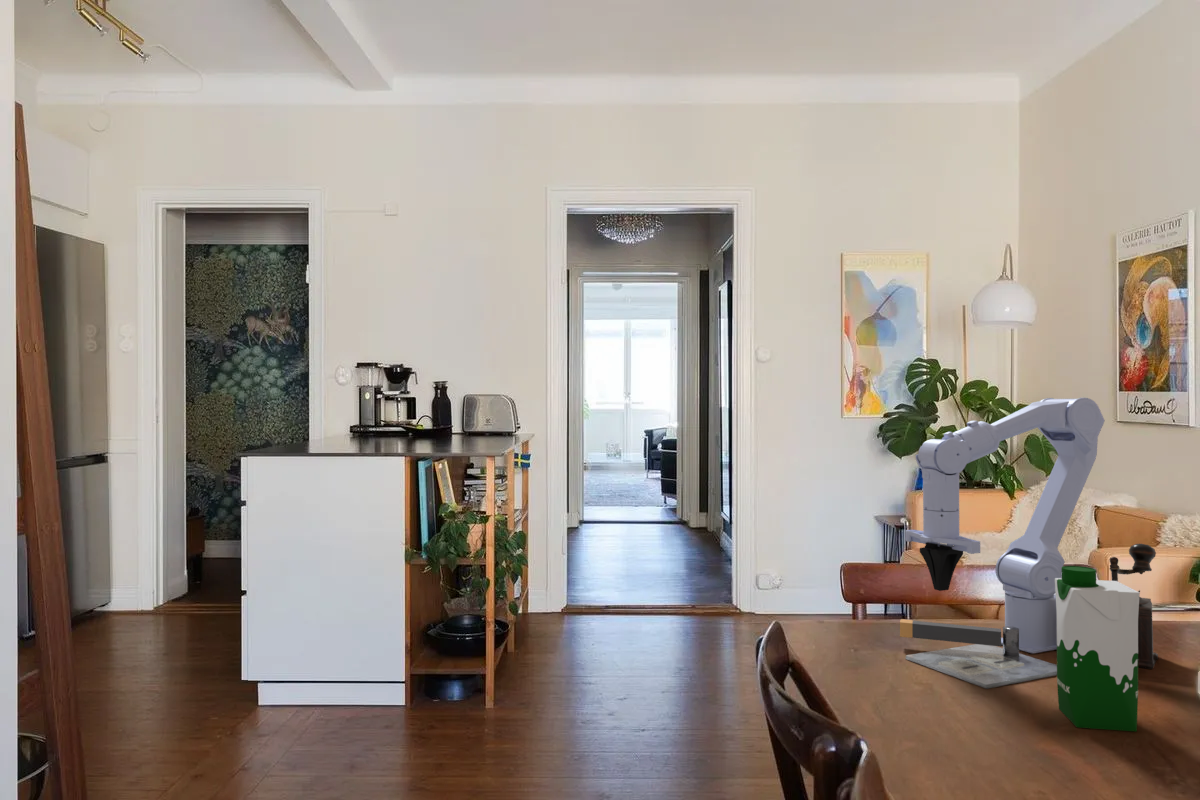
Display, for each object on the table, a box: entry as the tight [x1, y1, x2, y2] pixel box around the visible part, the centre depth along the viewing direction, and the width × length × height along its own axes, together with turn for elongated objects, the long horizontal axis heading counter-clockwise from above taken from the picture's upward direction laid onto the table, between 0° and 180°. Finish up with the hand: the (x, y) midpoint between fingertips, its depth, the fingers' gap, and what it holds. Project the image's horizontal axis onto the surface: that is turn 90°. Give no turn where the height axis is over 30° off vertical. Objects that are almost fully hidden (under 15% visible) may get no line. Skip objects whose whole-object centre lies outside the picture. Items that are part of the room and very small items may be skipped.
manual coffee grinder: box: [1108, 543, 1159, 670], centre depth 142 cm, size 16×11×18 cm
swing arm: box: [899, 618, 1002, 648], centre depth 143 cm, size 16×2×2 cm, turn 67°
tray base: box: [905, 625, 1057, 689], centre depth 135 cm, size 18×16×5 cm
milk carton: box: [1055, 565, 1141, 733], centre depth 112 cm, size 9×9×20 cm
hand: (941, 589), depth 143 cm, fingers closed
